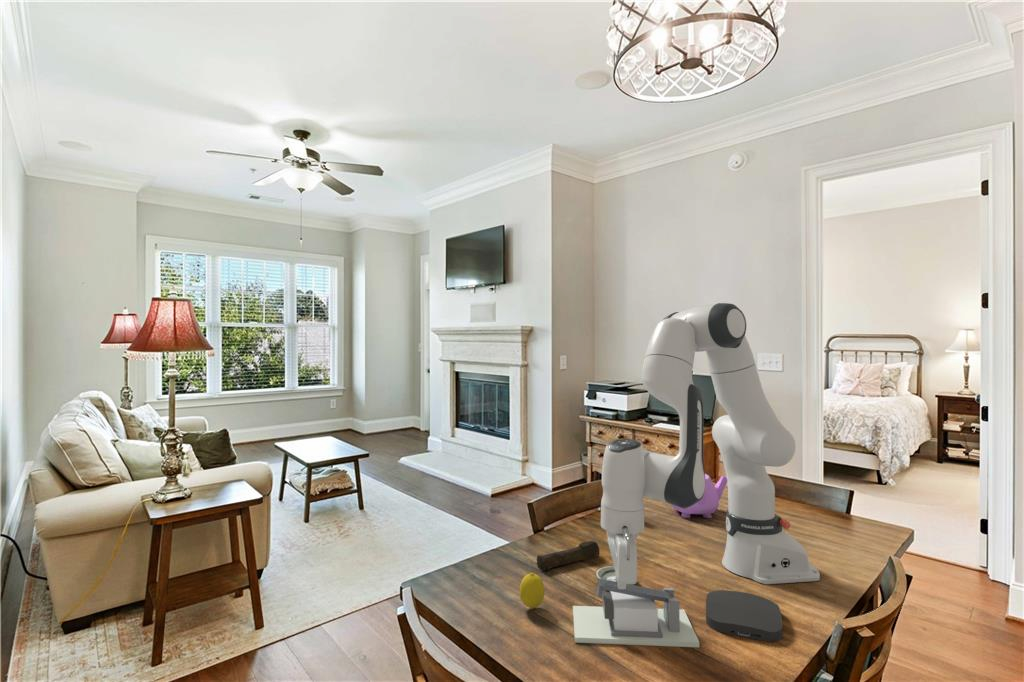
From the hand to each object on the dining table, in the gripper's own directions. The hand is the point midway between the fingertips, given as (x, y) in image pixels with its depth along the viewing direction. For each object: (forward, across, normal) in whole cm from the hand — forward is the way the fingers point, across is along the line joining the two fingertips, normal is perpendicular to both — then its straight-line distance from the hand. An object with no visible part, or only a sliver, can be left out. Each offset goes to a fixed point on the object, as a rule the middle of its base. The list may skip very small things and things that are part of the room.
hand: (620, 586), depth 106 cm
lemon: (+10, +6, +18) cm, 22 cm away
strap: (+3, 0, -3) cm, 4 cm away
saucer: (+9, +20, -1) cm, 21 cm away
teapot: (+6, +71, -35) cm, 79 cm away
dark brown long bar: (+9, +31, +10) cm, 34 cm away
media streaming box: (+8, +6, -26) cm, 28 cm away
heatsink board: (+9, +1, -3) cm, 9 cm away
